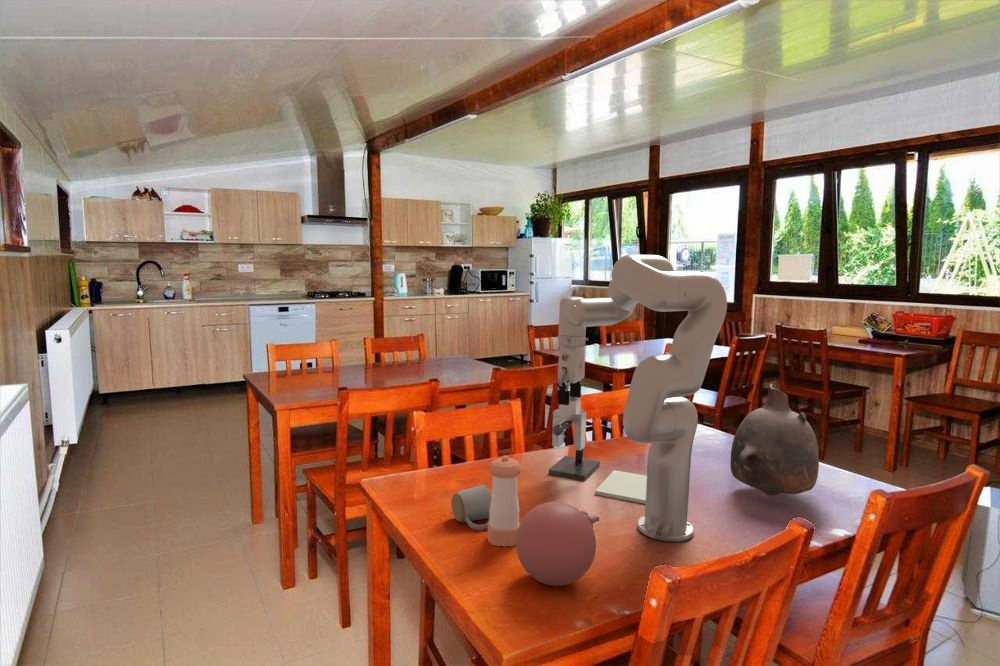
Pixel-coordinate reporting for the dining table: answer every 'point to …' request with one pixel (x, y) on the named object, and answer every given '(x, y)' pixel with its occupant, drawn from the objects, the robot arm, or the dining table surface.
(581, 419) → the stepped metal block
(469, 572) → the dining table surface
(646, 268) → the robot arm
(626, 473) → the mat
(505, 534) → the salt shaker
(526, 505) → the dining table surface
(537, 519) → the balloon
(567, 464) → the stand
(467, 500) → the ceramic mug
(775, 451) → the jug
